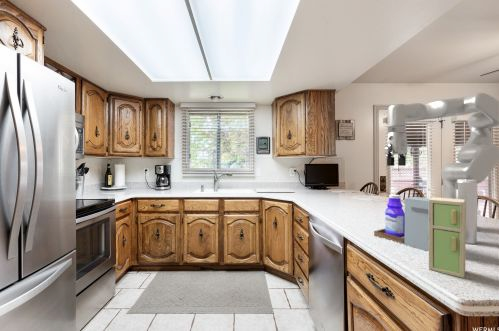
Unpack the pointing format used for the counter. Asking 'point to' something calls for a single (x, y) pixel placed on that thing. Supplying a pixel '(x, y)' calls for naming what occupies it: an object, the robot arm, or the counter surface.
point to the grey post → (468, 207)
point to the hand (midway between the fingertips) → (396, 165)
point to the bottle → (395, 217)
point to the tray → (388, 236)
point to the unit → (417, 222)
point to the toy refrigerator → (447, 236)
